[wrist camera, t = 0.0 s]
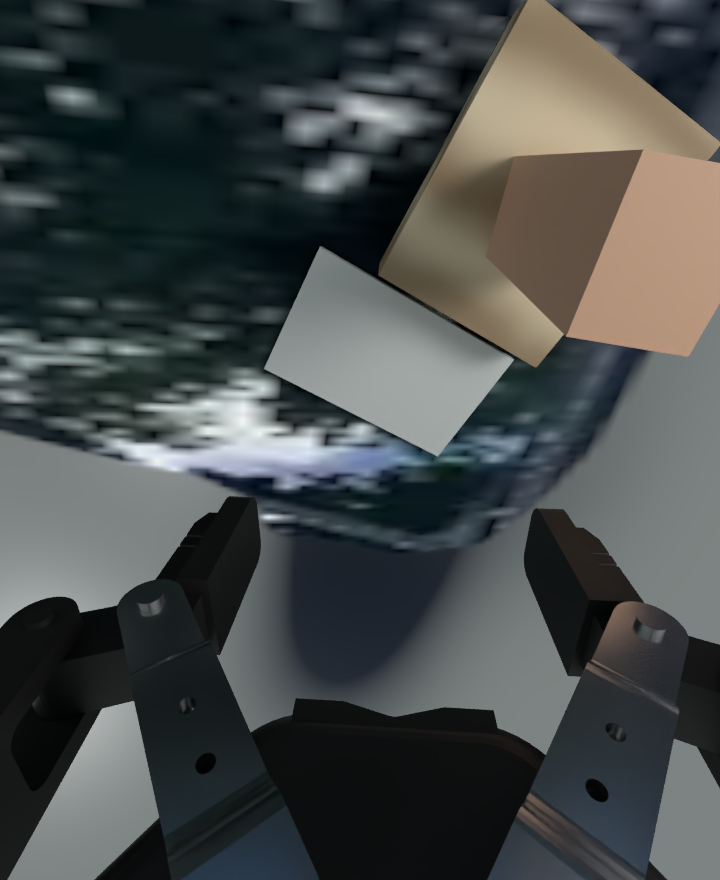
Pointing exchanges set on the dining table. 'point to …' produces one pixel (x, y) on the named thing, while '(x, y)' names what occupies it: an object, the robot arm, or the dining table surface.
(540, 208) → the tall tan block
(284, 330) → the mat
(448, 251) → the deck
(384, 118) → the dining table surface
